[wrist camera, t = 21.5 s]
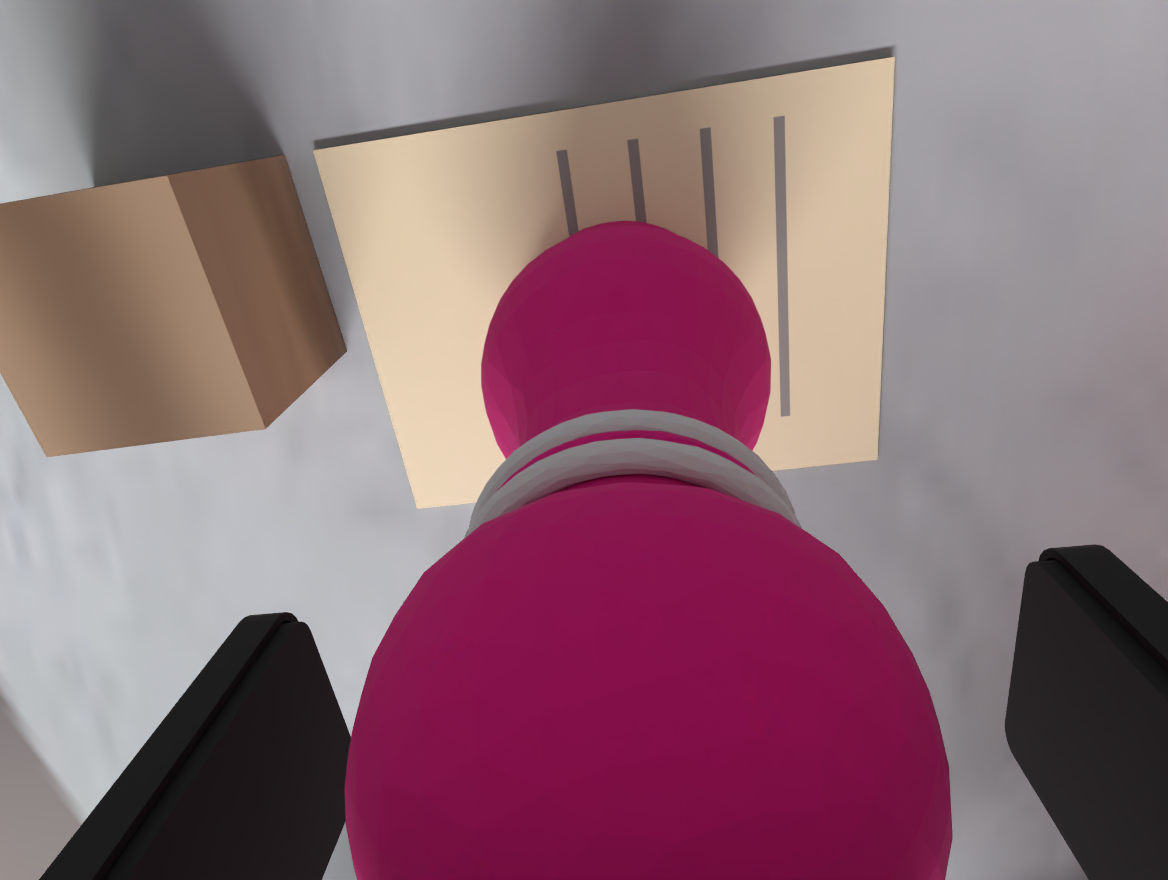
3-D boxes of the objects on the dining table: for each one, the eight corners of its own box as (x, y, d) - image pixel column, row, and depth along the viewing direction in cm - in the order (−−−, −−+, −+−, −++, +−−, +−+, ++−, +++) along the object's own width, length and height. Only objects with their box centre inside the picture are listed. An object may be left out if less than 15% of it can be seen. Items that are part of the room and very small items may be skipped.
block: (286, 154, 20) (166, 175, 15) (347, 350, 23) (265, 428, 17) (95, 187, 21) (-85, 218, 15) (177, 374, 23) (46, 457, 18)
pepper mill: (751, 408, 23) (1260, 1560, 5) (537, 445, 24) (297, 1534, 6) (725, 177, 20) (1847, 1000, 2) (479, 229, 21) (-417, 1127, 3)
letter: (891, 56, 18) (894, 57, 18) (875, 457, 24) (877, 459, 23) (315, 149, 20) (312, 150, 20) (418, 505, 25) (417, 509, 25)
